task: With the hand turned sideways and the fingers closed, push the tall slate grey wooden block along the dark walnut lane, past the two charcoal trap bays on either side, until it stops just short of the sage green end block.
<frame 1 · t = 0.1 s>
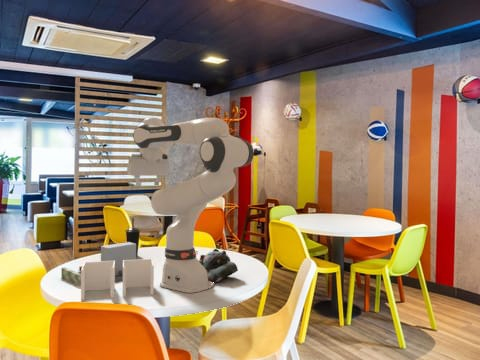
hand: (147, 185, 174), 39 cm above the table, tool pointing down, fingers open, 8 cm apart
lane: (99, 275, 168), on the table
trap bays: (99, 275, 168), on the table
slate block: (118, 271, 175), on the table
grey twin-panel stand: (118, 293, 146), on the table
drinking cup: (132, 256, 205), on the table
dark grey lumpy object: (217, 279, 165), on the table, touching arm
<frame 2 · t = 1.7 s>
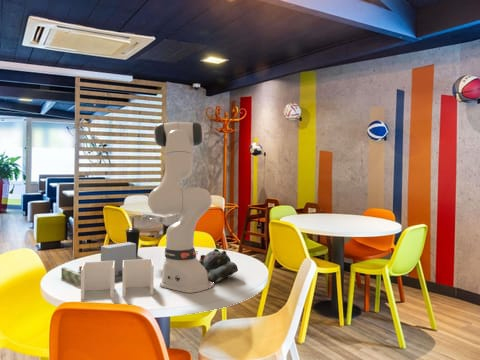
hand: (145, 219, 184), 22 cm above the table, tool horizontal, fingers open, 6 cm apart
dark grey lumpy object: (217, 280, 165), on the table
everything else where it was.
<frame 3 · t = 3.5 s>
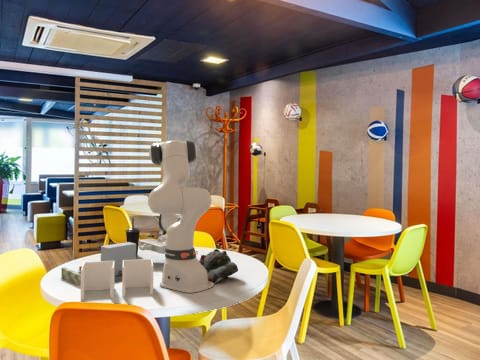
hand: (140, 248, 183), 9 cm above the table, tool horizontal, fingers closed
nothing on the table moved.
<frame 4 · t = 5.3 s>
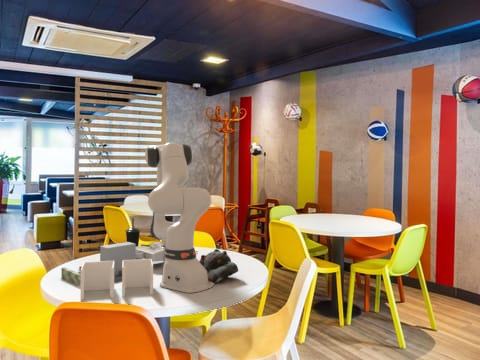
hand: (132, 255, 179), 6 cm above the table, tool horizontal, fingers closed, pressing on slate block
slate block: (118, 271, 175), on the table, touching gripper
everything else where it was.
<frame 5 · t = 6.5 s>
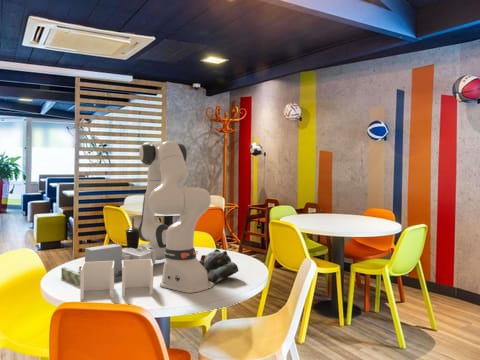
hand: (118, 258, 174), 6 cm above the table, tool horizontal, fingers closed, pressing on slate block
slate block: (103, 274, 169), on the table, touching gripper
everything else where it was.
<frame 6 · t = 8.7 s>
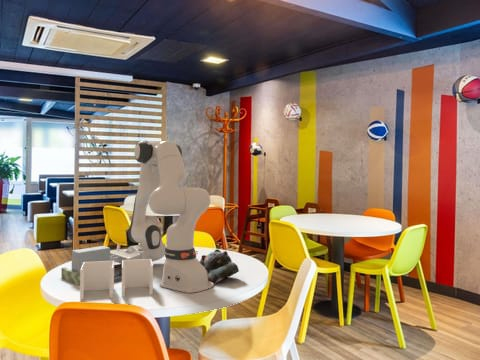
hand: (106, 260, 170), 6 cm above the table, tool horizontal, fingers closed
slate block: (91, 277, 165), on the table
everything else where it was.
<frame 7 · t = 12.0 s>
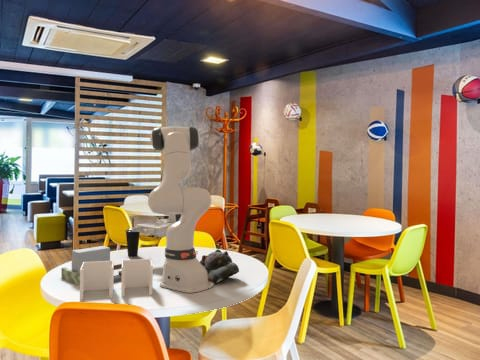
hand: (138, 230, 181), 17 cm above the table, tool horizontal, fingers open, 8 cm apart
dark grey lumpy object: (218, 280, 164), on the table, touching arm
everything else where it was.
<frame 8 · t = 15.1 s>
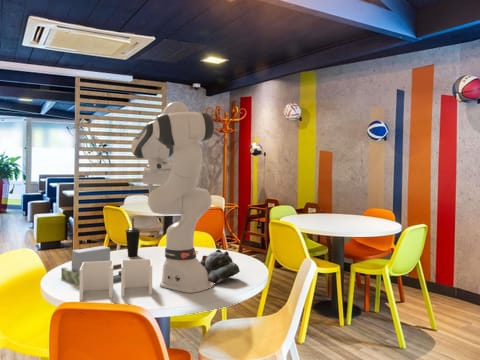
hand: (157, 194, 186), 34 cm above the table, tool pointing down, fingers open, 8 cm apart
nothing on the table moved.
at the end: slate block inside the target area (0.1 cm from its centre), on the table; slate block tilted 0° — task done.
